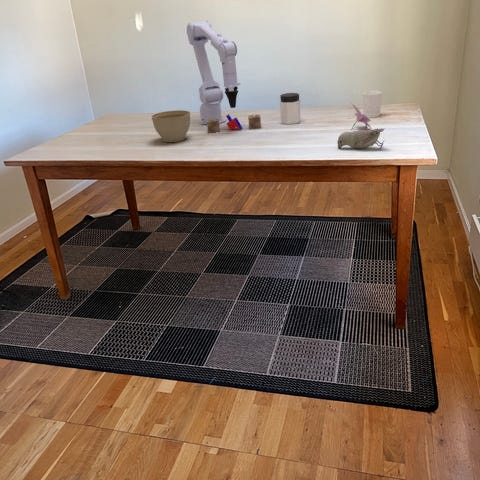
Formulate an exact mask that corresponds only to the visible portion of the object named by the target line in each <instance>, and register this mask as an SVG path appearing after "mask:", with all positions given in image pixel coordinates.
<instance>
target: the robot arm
mask: <svg viewBox="0 0 480 480" xmlns="http://www.w3.org/2000/svg"><path fill="white" fill-rule="evenodd" d="M186 35H187V38H188V39H187V40H188V42H189V44H190V46H192V47H193V51H194V55H195V58H196V61H197V65H198V70H199V75H200V76H201V80H202V81H201V82H202V84H201V85H200V86H199V89H198V93H199V100H200V102H201V103H202V104H201V105H200V107H199V113H200V114H199V115H200V123H199V124H201V125H207V120H209V119H219V125H220V124H222V123H225V122H226V119H223V118H222V117H223V116H222V108H221V103H222V101H223V99H224V95H226V97H227V100H228V104H229V106H230V109H234V108H236V106H237V97H238V93H239V90H238V89H239V88H238V86H240V85H241V82H238V75H237V66H236V56H237V54H238V47H237V45H236V42H235V41H233V40H231V41H228V39H227V38H226V37H224V36H223V35H222V34H221V33H216V32H215V31H214V29H213V28H212V23H211V22H209V20H204V21H197V22H188V24H187V25H186ZM209 41H210V45H211V46H212V47H213V49H215V50H216V51H217V53H218V56H219V57H218V58H219V61H220V62H221V68H222V69H221V70H222V77H223V87H224V90H225V91H223V89H222V88H221V85H220V83H219V82H217V81H215V80H214V76H213V73H212V69H211V65H210V62H209V58H208V55H207V51H206V46H205V45H206V44H207V43H208V42H209Z"/></svg>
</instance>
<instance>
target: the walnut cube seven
mask: <svg viewBox="0 0 480 480" xmlns="http://www.w3.org/2000/svg"><path fill="white" fill-rule="evenodd" d="M206 125H207V134H216V132H218V133H220V132H221V126H220V124H219V119H209V120H207V124H206Z"/></svg>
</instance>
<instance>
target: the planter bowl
mask: <svg viewBox="0 0 480 480" xmlns="http://www.w3.org/2000/svg"><path fill="white" fill-rule="evenodd" d="M150 117H151V120H152V123H153V128H154V129H155V131H156V133H157V134H158V135H159V136H160V137H161V140H162V142H166V143H177V142H180V141H184V140H185V139H186V135H187V133H188V131H189V129H190V125H191V112H190V111H188V110H184V109H181V110H180V109H179V110H177V109H176V110H167V111H160V112H157V113H154V114H153V115H151V116H150Z"/></svg>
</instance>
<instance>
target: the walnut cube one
mask: <svg viewBox="0 0 480 480" xmlns="http://www.w3.org/2000/svg"><path fill="white" fill-rule="evenodd" d="M247 118H248V128H249V130H258V129H259V130H260V129H262V123H261V115H260V114H252V115H247Z"/></svg>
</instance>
